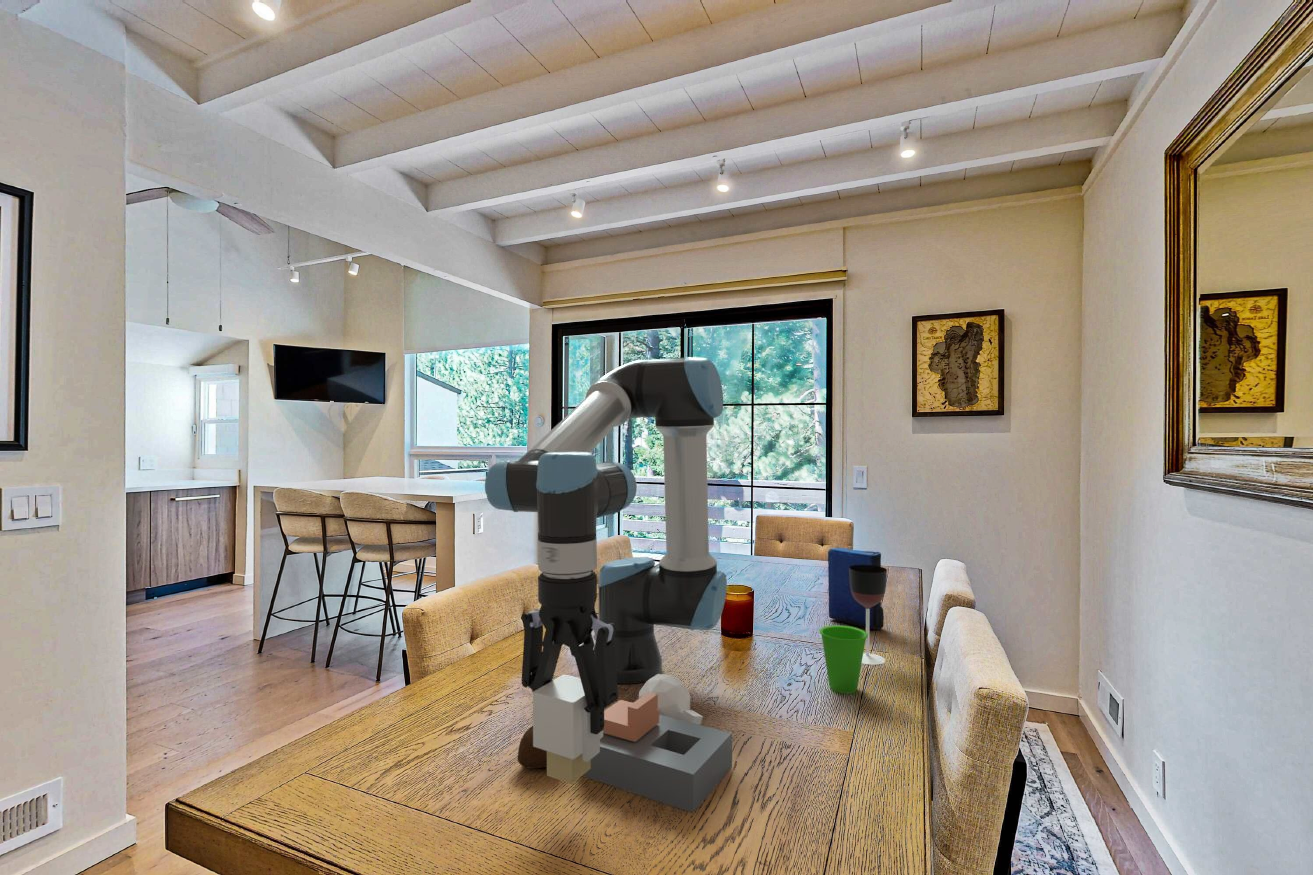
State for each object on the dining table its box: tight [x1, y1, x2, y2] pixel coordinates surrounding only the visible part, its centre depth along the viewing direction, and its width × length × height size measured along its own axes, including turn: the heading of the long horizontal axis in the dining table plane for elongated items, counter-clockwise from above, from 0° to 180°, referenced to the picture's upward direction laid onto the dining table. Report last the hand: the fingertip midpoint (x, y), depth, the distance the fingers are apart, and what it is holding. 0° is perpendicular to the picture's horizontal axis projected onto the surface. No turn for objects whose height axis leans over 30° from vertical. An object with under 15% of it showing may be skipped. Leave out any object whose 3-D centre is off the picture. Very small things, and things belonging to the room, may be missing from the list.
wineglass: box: [849, 565, 888, 666], centre depth 136 cm, size 8×9×20 cm
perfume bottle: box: [638, 673, 704, 725], centre depth 102 cm, size 9×9×12 cm
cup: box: [819, 624, 868, 695], centre depth 120 cm, size 9×9×11 cm
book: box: [827, 546, 885, 630], centre depth 162 cm, size 14×5×20 cm, turn 42°
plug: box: [532, 674, 603, 785], centre depth 79 cm, size 6×6×11 cm
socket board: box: [581, 715, 733, 814], centre depth 89 cm, size 18×13×5 cm
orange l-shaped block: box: [603, 692, 659, 742], centre depth 92 cm, size 7×7×4 cm
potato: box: [517, 725, 547, 770], centre depth 92 cm, size 7×10×7 cm
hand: (568, 748), depth 79 cm, fingers closed on plug, 6 cm apart
